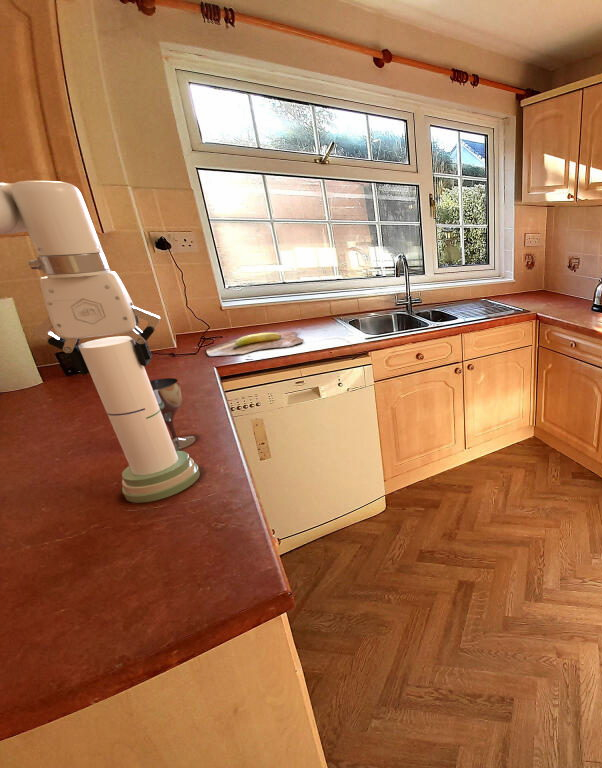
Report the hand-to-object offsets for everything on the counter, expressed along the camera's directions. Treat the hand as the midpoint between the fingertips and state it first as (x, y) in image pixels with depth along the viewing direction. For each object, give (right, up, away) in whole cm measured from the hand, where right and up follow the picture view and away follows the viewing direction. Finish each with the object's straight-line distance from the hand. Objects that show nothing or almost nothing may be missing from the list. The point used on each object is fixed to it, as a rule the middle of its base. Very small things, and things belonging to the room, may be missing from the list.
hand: (117, 367), depth 75 cm
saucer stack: (+1, -23, +9) cm, 25 cm away
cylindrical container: (0, -19, +8) cm, 20 cm away
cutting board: (-36, +13, +100) cm, 107 cm away
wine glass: (-9, -17, +24) cm, 31 cm away
